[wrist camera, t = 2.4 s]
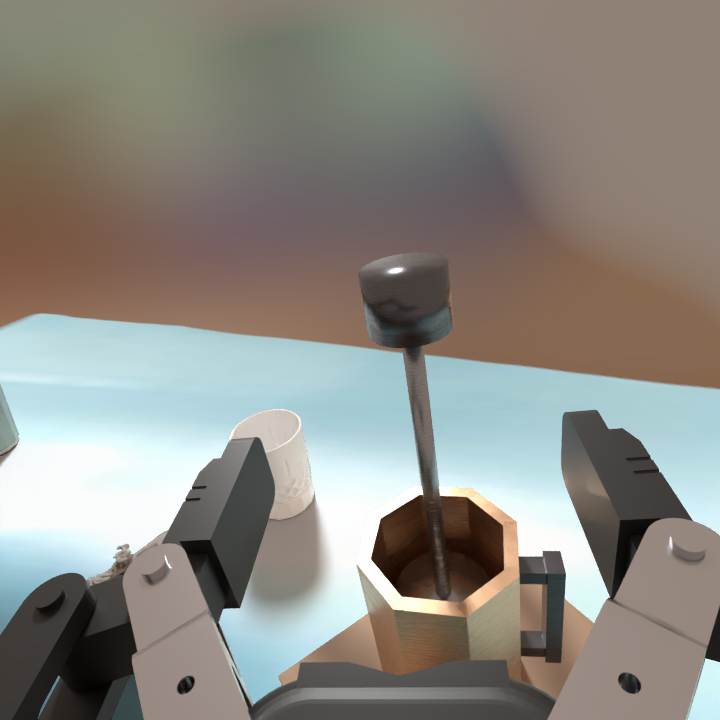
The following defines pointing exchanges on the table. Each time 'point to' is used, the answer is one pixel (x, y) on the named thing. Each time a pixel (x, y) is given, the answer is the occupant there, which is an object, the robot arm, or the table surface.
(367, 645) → the walnut board
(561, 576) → the press beaker
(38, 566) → the table surface
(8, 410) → the disposable coffee cup
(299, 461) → the white cup
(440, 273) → the plunger
